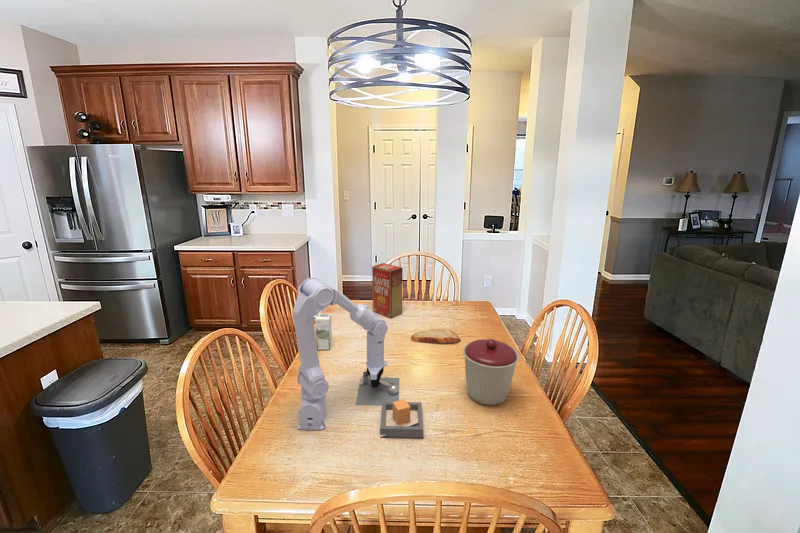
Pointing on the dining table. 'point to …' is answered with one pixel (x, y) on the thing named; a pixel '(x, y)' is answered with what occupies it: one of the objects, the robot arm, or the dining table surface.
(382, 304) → the food packaging
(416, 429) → the tray
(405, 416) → the block
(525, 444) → the dining table surface
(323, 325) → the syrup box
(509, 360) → the canister
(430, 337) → the slice of bread
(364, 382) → the crank
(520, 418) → the dining table surface
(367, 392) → the crank board
